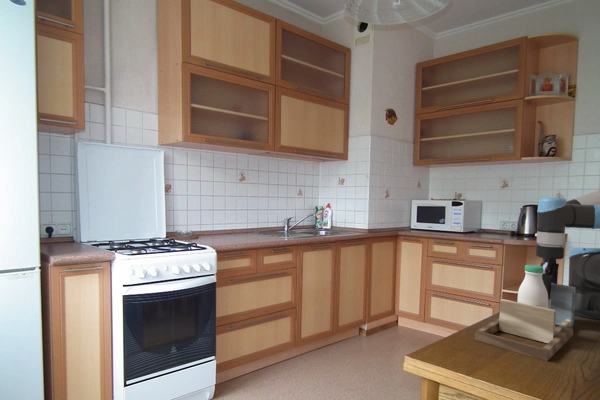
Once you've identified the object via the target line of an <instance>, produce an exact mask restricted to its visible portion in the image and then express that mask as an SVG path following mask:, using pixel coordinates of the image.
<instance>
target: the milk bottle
mask: <svg viewBox="0 0 600 400" xmlns="http://www.w3.org/2000/svg"><path fill="white" fill-rule="evenodd" d="M524 274H525V276H524V279H523V280H522V282H521V284H520V286H519V288H518V291H517V301H516V302H518V303H523V304H528V305H533V306H538V307H543V308H547V309H548V293H547V290H546V287H545V285H544V283H543V280H542V275H543V267H541V265H536V264H525V265H524Z"/></svg>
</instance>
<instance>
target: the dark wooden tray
mask: <svg viewBox="0 0 600 400" xmlns="http://www.w3.org/2000/svg"><path fill="white" fill-rule="evenodd" d="M498 331H499V318H497V319H495V320H493V321H492V322H489V323H488V324H486V325H484V326H483V327H481V328H479V329H478V330H475V331H474V332H475V333H474V334H475V335H474V340H475V341H478V342H480V343H484V344H488V345H490V346H494V347H498V348H501V349H505V350H508V351H511V352H515V353H518V354H522V355H525V356H527V357H528V356H529V357H531V358H534V357H535V359H538V360H542V361H545V362H548V361H549V360H550V359H551V358H552V357H553V356H554V355H555V354H556V353H557V352H558V351H560V349H561V348H562V347H563V346H564V345H565V344H566V343H567V342H568V341H569V340H570V339H571V338H572V337H573V336H574V327H573V326H572V327H569V326H567V327H566V328H565V329H564V330H562V331H561V332H560V333H559V334H558V335H557V336H556V337H555V338H553V339H552V340H551V341H550V342H549V343H546V345H545V346H543V347H539V346H535V345H532V344H528V343H525V342H520V341H516V340H514V339H509V338H506V337H502V336H499V335H495V333H497V332H498Z"/></svg>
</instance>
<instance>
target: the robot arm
mask: <svg viewBox="0 0 600 400" xmlns="http://www.w3.org/2000/svg"><path fill="white" fill-rule="evenodd" d="M536 212H537V221H536V222H537V225H536V227H537V228H536V231H537V232H536V233H535V235H534V237H536V244H537V245H536V247H535V248H536V249H535V256H536V257H538V258H542V262H541V263H540V266H541V267H543V275H542V280H543V283H544V285H545V287H546V290H547V293H548V309H551V299H550V292H551V283H553V284H558V278H559V277H558V275H559V266H560V264H559V263H558V262H557V260H562V259H564V256H565V248H564V247H563V246H565V238H566V236H565V235H566V228H567V229H569V228H573V229H574V228H576V229H589V230H590V229H591V230H594V229H595V230H596V229H599V230H600V189H597V190H594V191H592V192H590V193H586V194H583V195H581V196H578V197H576V198H573V199H570V200H567V199H566V198H564V197H540V198H539V199H538V204H537V210H536ZM568 260H569V262H568V264H569V265H568V285H567V286H572V287H575V308H574V316H577V317H583V318H586V319H592V320H593V319H594V320H600V247H597V248H596V247H572V248H571V249H570V251H569V255H568Z"/></svg>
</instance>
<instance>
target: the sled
mask: <svg viewBox="0 0 600 400" xmlns="http://www.w3.org/2000/svg"><path fill="white" fill-rule="evenodd" d="M550 299H551V309H547V308H543V307H538V306H533V305H528V304H523V303H518V302H517V301H513V300H508V299H502V298H501V299H500V300H499V316H498V317H499V318H498V319H499V330H498V331H501V332H504V333H507V334H510V335H515V336H519V337H521V338H525V339H529V340H533V341H534V340H535V341H536V342H537V341H538V342H541V343H545V344H548V343H549V342H550V341H551V340H552V339H553V338H555V337H556V336H557V335H558V334H559V333H560V332H561V331H562V330H564V329H565V328H566V327H567V326H569V327H573V326H575V325H574V324H575V315H574V308H575V287H572V286H568V285H565V284H560V283H559V284H558V283H557V284H553V283H551V292H550ZM556 325H557V326H556Z"/></svg>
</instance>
